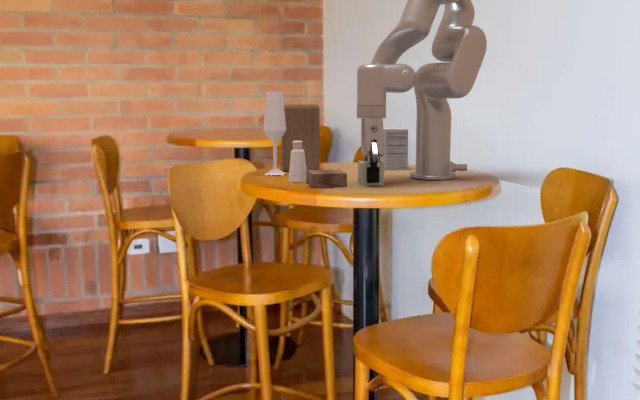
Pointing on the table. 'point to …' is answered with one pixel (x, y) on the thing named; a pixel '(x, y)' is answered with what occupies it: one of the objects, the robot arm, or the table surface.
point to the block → (302, 134)
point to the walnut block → (326, 178)
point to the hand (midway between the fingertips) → (370, 180)
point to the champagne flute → (274, 124)
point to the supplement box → (395, 149)
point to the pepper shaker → (297, 163)
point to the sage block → (363, 174)
